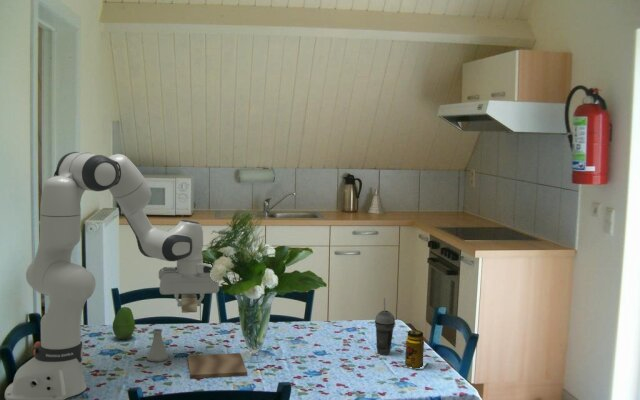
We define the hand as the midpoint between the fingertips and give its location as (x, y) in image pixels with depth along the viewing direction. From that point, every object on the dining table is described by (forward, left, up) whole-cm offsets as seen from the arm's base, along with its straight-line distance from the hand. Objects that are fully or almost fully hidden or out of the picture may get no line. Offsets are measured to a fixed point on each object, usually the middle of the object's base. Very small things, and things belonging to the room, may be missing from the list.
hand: (189, 305), depth 238 cm
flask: (-11, -4, -17) cm, 21 cm away
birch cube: (0, 0, -2) cm, 2 cm away
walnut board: (+8, -15, -17) cm, 24 cm away
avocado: (-23, +19, -17) cm, 34 cm away
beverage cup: (+68, -10, -17) cm, 71 cm away
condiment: (+75, -23, -17) cm, 81 cm away
